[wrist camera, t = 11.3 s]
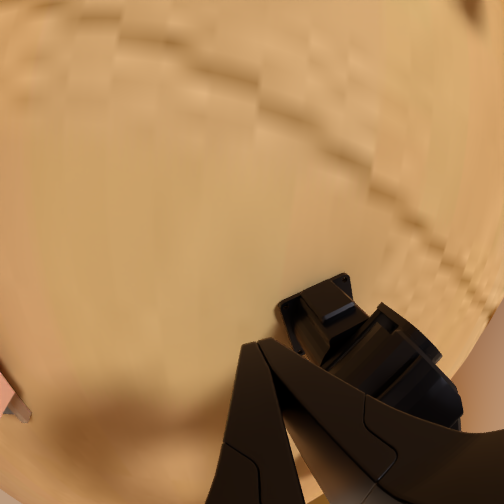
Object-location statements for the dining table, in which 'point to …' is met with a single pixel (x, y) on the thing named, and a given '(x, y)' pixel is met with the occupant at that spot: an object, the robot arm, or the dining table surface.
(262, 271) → the dining table surface
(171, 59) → the dining table surface
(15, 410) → the mat
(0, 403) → the terracotta block
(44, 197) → the dining table surface
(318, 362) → the robot arm
